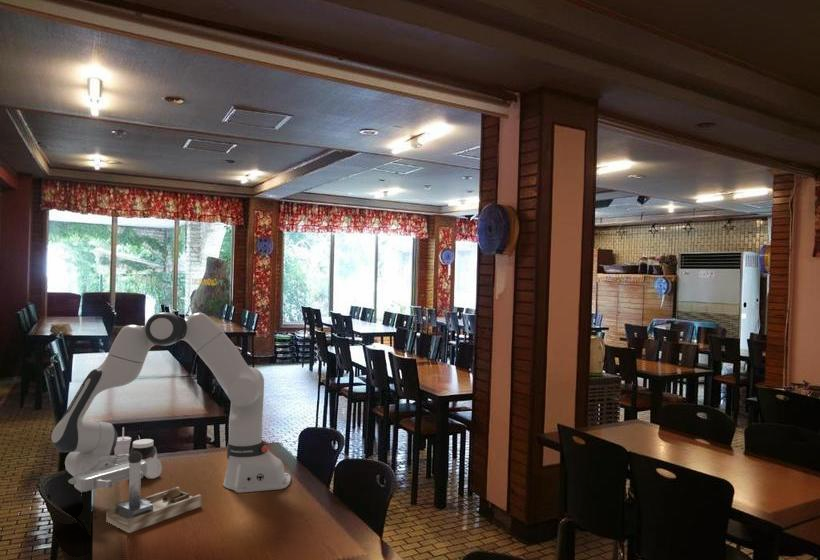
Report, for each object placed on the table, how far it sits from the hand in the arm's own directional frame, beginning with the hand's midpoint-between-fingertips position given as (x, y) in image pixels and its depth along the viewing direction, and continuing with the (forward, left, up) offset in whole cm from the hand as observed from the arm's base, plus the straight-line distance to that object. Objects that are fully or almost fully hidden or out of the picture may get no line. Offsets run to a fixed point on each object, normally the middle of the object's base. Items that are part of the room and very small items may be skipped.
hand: (125, 480), depth 170 cm
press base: (-8, -1, -11) cm, 13 cm away
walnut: (-12, -6, -7) cm, 15 cm away
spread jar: (+6, -36, -11) cm, 39 cm away
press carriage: (-4, +3, -9) cm, 10 cm away
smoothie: (+19, -48, -11) cm, 53 cm away
